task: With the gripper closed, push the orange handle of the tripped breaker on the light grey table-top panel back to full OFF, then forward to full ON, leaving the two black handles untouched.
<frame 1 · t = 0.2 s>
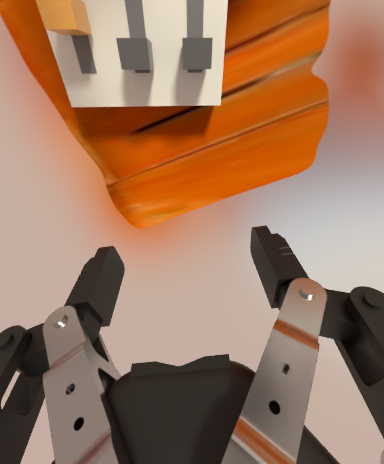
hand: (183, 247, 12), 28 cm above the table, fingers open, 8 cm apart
tripped breaker: (65, 15, 20), point 7 cm above the table, slide at 0.0 cm
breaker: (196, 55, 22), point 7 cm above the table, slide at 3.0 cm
breaker panel: (142, 28, 25), on the table
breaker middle: (137, 55, 22), point 7 cm above the table, slide at 3.0 cm
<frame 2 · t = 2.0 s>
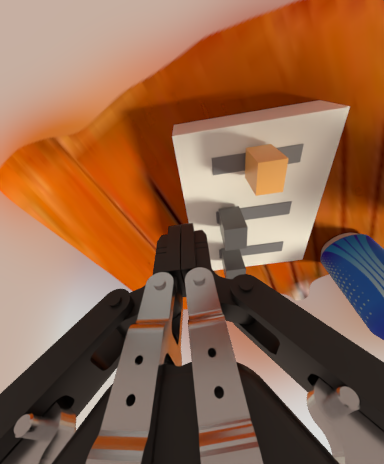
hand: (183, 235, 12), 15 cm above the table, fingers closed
beer can: (340, 246, 36), on the table
tripped breaker: (263, 169, 18), point 7 cm above the table, slide at 0.0 cm
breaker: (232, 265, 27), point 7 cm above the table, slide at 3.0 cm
breaker panel: (243, 193, 28), on the table
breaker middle: (232, 228, 22), point 7 cm above the table, slide at 3.0 cm
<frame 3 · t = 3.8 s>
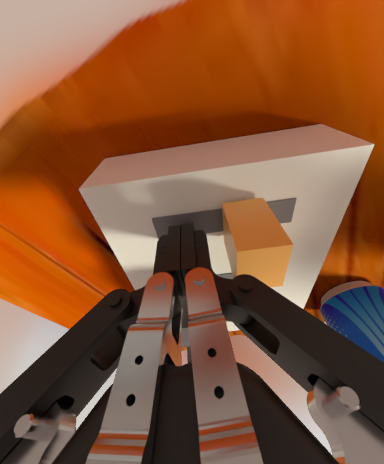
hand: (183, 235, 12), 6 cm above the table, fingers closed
beer can: (344, 293, 29), on the table
tripped breaker: (250, 242, 11), point 7 cm above the table, slide at -1.1 cm, touching gripper
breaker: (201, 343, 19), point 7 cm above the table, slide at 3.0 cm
breaker panel: (217, 241, 21), on the table
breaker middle: (192, 310, 15), point 7 cm above the table, slide at 3.0 cm
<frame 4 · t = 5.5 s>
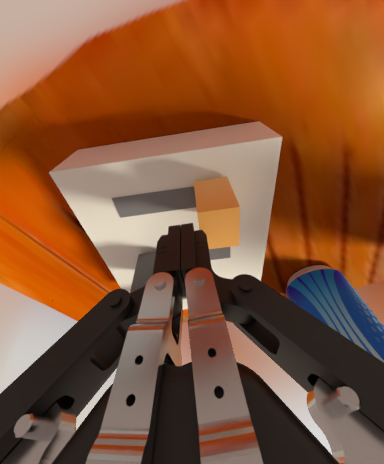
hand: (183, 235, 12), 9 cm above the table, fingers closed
beer can: (308, 278, 32), on the table
tripped breaker: (215, 211, 13), point 7 cm above the table, slide at -3.1 cm
breaker panel: (184, 225, 23), on the table
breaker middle: (152, 279, 18), point 7 cm above the table, slide at 3.0 cm
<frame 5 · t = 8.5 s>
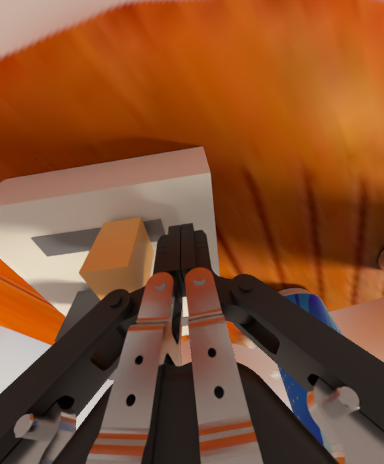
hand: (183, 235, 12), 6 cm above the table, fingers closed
beer can: (286, 300, 30), on the table
tripped breaker: (124, 259, 12), point 7 cm above the table, slide at -2.2 cm, touching gripper
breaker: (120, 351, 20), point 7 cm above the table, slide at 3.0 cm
breaker panel: (141, 252, 22), on the table
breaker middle: (91, 321, 16), point 7 cm above the table, slide at 3.0 cm
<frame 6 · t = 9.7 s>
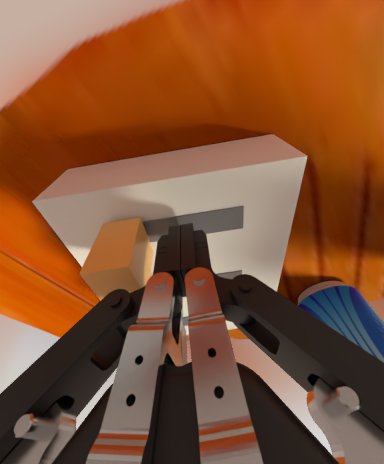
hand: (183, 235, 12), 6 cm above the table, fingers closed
beer can: (320, 293, 30), on the table
tripped breaker: (123, 260, 12), point 7 cm above the table, slide at 3.2 cm, touching gripper
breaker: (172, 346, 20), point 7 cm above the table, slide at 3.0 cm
breaker panel: (188, 245, 21), on the table
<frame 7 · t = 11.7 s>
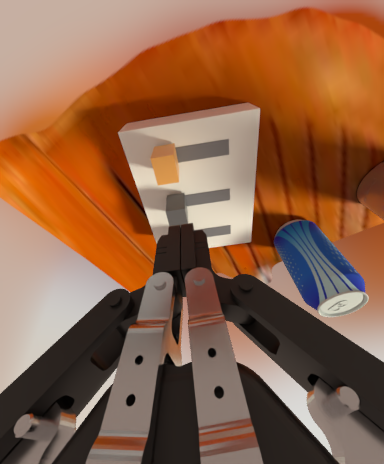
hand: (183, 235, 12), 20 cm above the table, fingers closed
beer can: (292, 232, 40), on the table
tripped breaker: (166, 163, 22), point 7 cm above the table, slide at 3.1 cm
breaker panel: (196, 183, 32), on the table
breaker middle: (177, 211, 26), point 7 cm above the table, slide at 3.0 cm
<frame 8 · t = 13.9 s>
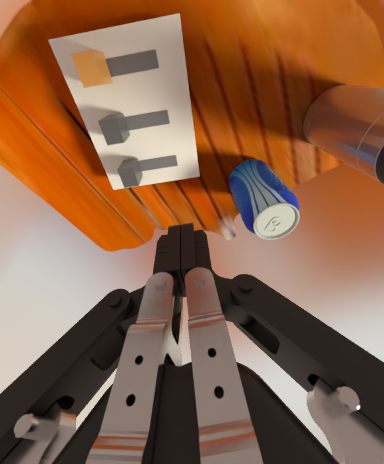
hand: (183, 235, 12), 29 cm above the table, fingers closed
beer can: (247, 176, 41), on the table
tripped breaker: (93, 69, 24), point 7 cm above the table, slide at 3.1 cm
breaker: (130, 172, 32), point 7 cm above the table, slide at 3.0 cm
breaker panel: (143, 115, 33), on the table
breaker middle: (115, 128, 28), point 7 cm above the table, slide at 3.0 cm
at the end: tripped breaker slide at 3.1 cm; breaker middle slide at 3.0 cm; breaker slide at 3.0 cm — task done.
